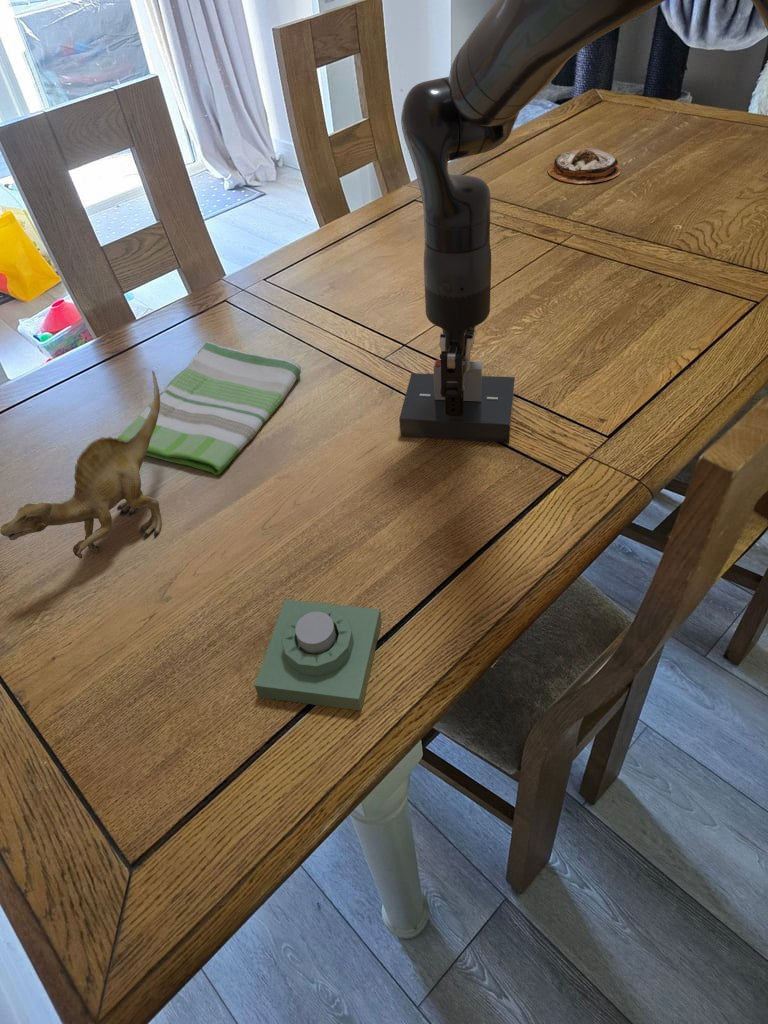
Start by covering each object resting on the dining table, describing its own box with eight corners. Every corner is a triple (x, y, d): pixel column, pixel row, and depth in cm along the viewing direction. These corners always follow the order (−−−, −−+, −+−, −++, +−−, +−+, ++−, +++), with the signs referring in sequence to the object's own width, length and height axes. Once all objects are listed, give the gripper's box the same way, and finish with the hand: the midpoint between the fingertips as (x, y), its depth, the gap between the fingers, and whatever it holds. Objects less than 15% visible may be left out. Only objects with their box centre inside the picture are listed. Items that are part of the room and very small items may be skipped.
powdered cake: (605, 153, 152) (607, 132, 149) (632, 178, 141) (636, 156, 138) (539, 162, 151) (540, 142, 148) (561, 188, 140) (564, 167, 137)
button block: (381, 621, 71) (378, 598, 68) (361, 711, 64) (356, 689, 61) (288, 611, 73) (281, 588, 70) (259, 697, 66) (249, 675, 63)
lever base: (513, 395, 95) (514, 376, 93) (509, 442, 88) (510, 423, 86) (412, 390, 97) (411, 372, 95) (400, 436, 91) (399, 417, 88)
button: (339, 624, 67) (337, 613, 65) (331, 656, 64) (328, 645, 63) (303, 620, 67) (300, 609, 66) (293, 651, 65) (290, 641, 64)
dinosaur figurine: (38, 591, 77) (-22, 508, 68) (179, 444, 93) (147, 360, 84) (91, 611, 75) (36, 528, 65) (226, 457, 91) (198, 372, 81)
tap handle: (481, 394, 91) (482, 360, 87) (480, 401, 90) (481, 367, 86) (436, 392, 92) (435, 358, 88) (434, 399, 91) (433, 366, 87)
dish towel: (306, 375, 102) (302, 355, 100) (225, 478, 88) (218, 457, 85) (208, 358, 108) (201, 338, 105) (116, 452, 93) (107, 431, 91)
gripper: (485, 311, 73) (482, 430, 85) (495, 248, 83) (491, 363, 94) (415, 309, 75) (421, 427, 86) (432, 248, 84) (436, 361, 96)
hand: (458, 393), depth 90 cm, fingers open, 8 cm apart
